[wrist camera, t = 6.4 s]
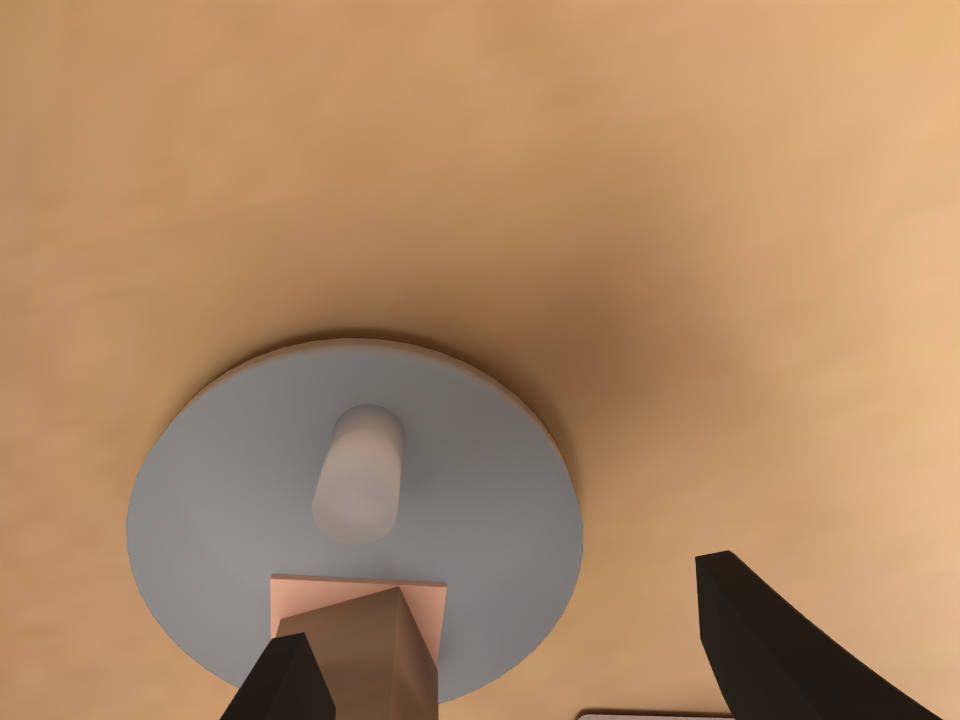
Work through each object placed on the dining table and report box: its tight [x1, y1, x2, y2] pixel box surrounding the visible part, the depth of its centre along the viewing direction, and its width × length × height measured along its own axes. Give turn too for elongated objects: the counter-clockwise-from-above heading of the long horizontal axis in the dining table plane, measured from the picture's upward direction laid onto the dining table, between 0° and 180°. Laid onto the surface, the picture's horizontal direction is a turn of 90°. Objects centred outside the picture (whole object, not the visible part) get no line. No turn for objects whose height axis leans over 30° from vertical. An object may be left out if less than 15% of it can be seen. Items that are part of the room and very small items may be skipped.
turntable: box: [126, 338, 583, 704], centre depth 19 cm, size 14×14×5 cm
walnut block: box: [275, 586, 438, 720], centre depth 19 cm, size 4×4×5 cm
